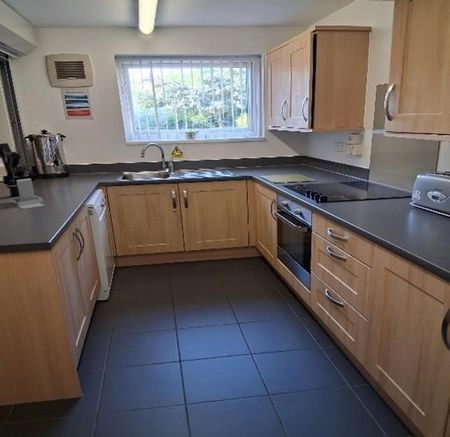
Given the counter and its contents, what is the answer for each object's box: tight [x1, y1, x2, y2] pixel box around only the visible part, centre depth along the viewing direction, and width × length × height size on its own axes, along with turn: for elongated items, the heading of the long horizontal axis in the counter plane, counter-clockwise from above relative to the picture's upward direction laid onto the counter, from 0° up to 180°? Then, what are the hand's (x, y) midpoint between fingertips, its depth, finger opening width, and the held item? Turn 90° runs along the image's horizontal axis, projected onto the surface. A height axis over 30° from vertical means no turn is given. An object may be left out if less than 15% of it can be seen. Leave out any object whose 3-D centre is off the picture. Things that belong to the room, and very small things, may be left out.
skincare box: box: [17, 179, 36, 201], centre depth 226 cm, size 8×6×15 cm
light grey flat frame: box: [12, 195, 44, 207], centre depth 230 cm, size 22×14×2 cm, turn 43°
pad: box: [17, 203, 46, 210], centre depth 217 cm, size 12×12×1 cm
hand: (23, 188), depth 229 cm, fingers closed
